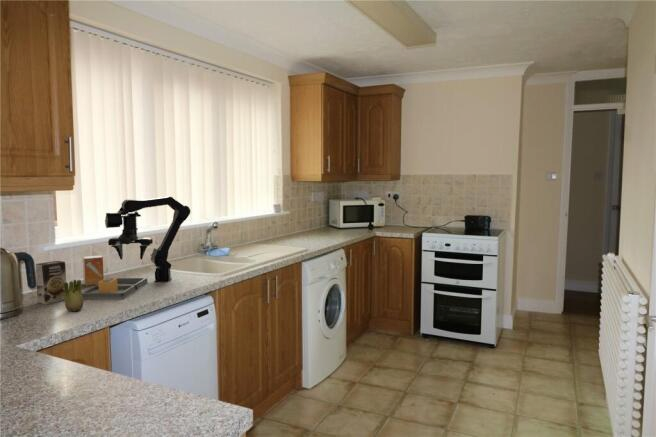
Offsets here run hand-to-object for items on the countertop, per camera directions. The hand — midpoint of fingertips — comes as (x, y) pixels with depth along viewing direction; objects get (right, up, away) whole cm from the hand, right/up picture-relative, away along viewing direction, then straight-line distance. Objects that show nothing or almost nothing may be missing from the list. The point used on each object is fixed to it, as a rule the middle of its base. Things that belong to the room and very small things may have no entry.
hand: (131, 259), depth 222 cm
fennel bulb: (-5, -16, -41) cm, 44 cm away
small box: (-19, -12, +3) cm, 23 cm away
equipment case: (-3, -12, -3) cm, 13 cm away
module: (-2, -13, -18) cm, 22 cm away
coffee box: (-21, -15, -27) cm, 38 cm away
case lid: (-2, -14, -18) cm, 23 cm away
